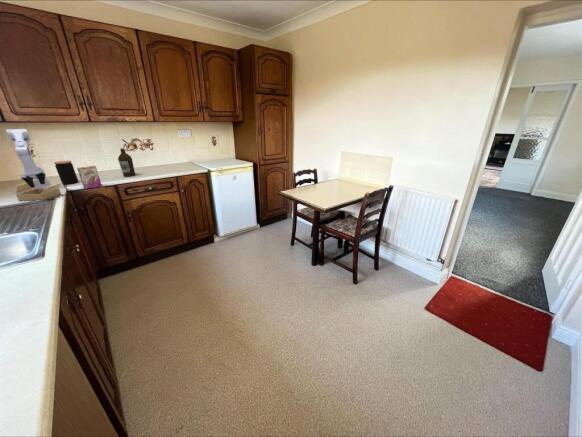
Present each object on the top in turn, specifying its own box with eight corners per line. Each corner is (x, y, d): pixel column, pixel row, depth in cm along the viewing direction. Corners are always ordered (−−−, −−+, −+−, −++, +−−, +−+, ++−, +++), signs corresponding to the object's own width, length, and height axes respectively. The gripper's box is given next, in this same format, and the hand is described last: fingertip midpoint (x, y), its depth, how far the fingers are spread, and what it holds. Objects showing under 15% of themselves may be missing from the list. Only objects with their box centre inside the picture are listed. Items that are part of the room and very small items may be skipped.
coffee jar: (82, 182, 207) (74, 160, 200) (68, 185, 197) (60, 163, 190) (72, 181, 210) (65, 160, 202) (59, 184, 200) (50, 162, 193)
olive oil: (126, 174, 231) (118, 147, 221) (138, 174, 232) (131, 147, 222) (120, 177, 221) (112, 149, 212) (133, 177, 223) (125, 149, 213)
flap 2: (62, 182, 171) (62, 182, 171) (58, 187, 172) (58, 188, 172) (45, 187, 159) (46, 187, 159) (41, 193, 160) (41, 193, 160)
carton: (38, 194, 174) (35, 188, 172) (61, 194, 175) (58, 188, 173) (18, 201, 161) (15, 194, 160) (43, 200, 162) (41, 194, 160)
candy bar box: (85, 189, 186) (77, 168, 180) (83, 188, 189) (76, 167, 183) (102, 186, 194) (95, 165, 188) (100, 185, 197) (93, 165, 191)
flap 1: (34, 188, 172) (34, 187, 172) (36, 180, 170) (35, 180, 170) (16, 193, 160) (15, 193, 160) (17, 185, 158) (16, 185, 158)
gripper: (25, 167, 153) (34, 188, 158) (45, 163, 166) (53, 182, 172) (13, 168, 153) (23, 188, 158) (34, 163, 166) (42, 183, 171)
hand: (38, 185), depth 165 cm, fingers open, 7 cm apart
